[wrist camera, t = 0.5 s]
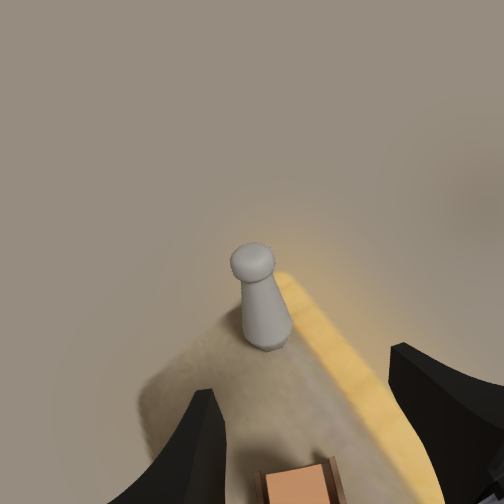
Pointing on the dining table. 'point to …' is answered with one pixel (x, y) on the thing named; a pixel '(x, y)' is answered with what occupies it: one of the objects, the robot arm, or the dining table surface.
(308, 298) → the dining table surface
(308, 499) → the block
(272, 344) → the salt shaker
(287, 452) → the dining table surface
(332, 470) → the box
